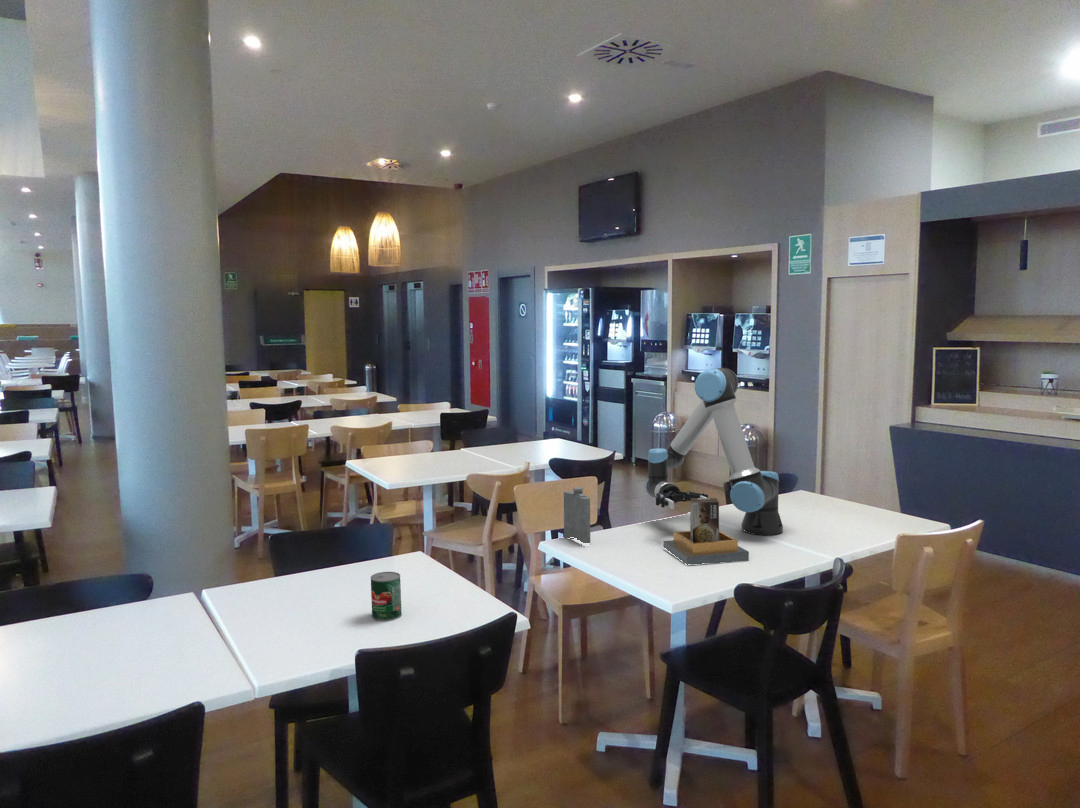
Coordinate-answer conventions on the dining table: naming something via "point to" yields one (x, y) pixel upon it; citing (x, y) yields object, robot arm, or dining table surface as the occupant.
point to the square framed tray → (705, 549)
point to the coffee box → (704, 520)
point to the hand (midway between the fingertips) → (691, 504)
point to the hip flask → (577, 515)
